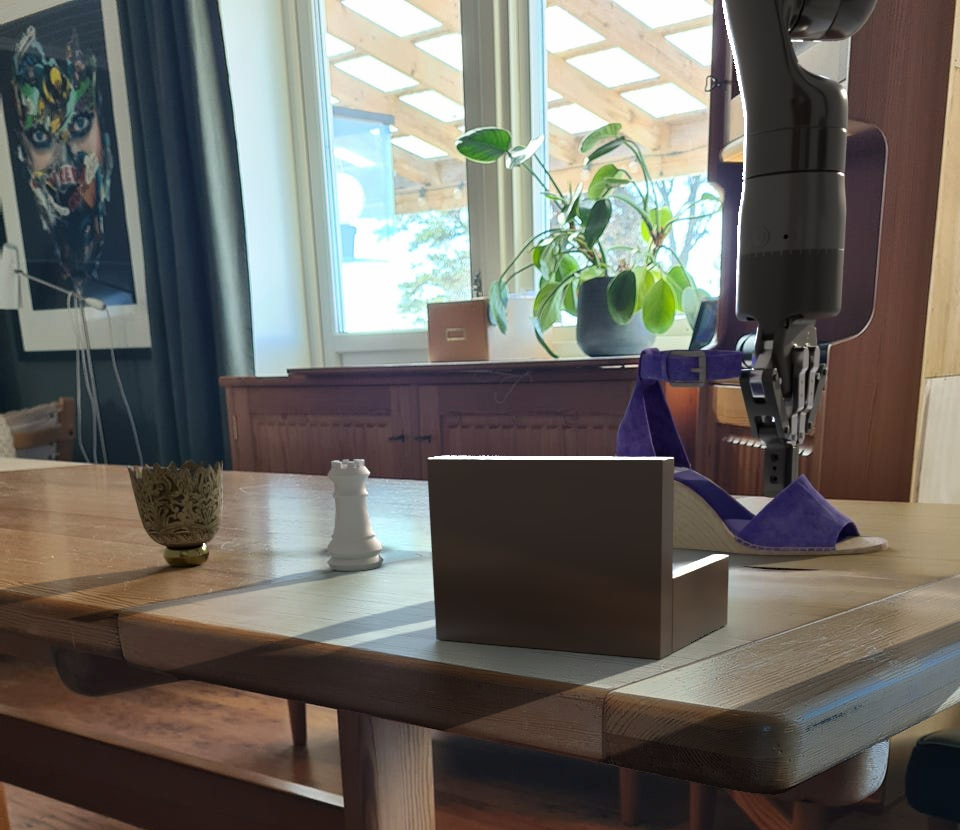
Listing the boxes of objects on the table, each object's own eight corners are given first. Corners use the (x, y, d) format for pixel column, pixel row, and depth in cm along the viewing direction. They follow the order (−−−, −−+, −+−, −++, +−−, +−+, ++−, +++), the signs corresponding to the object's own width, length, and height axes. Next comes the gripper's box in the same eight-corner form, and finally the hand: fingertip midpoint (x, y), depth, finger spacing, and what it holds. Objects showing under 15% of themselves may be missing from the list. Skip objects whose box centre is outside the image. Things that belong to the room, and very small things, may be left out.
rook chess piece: (353, 573, 97) (345, 464, 94) (315, 569, 100) (306, 462, 97) (396, 565, 100) (389, 458, 97) (357, 561, 103) (350, 457, 100)
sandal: (862, 577, 87) (874, 339, 81) (603, 564, 97) (597, 352, 91) (898, 554, 93) (912, 332, 87) (651, 544, 103) (648, 345, 97)
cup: (251, 561, 106) (240, 460, 103) (176, 574, 101) (163, 468, 98) (197, 555, 110) (185, 458, 107) (123, 567, 105) (109, 466, 102)
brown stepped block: (518, 609, 81) (513, 444, 78) (727, 624, 74) (732, 444, 71) (436, 639, 74) (426, 458, 70) (660, 659, 67) (662, 459, 63)
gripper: (811, 240, 85) (798, 508, 91) (869, 247, 95) (854, 488, 102) (705, 249, 89) (700, 505, 95) (772, 255, 99) (763, 486, 106)
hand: (780, 496), depth 99 cm, fingers closed
